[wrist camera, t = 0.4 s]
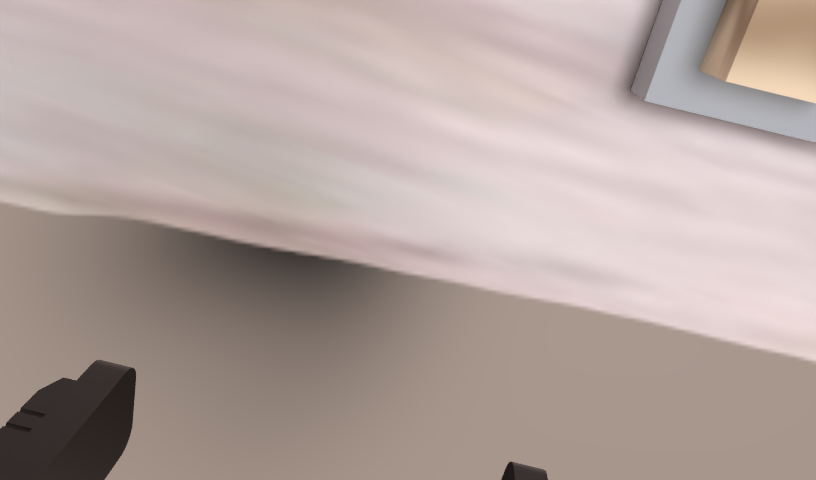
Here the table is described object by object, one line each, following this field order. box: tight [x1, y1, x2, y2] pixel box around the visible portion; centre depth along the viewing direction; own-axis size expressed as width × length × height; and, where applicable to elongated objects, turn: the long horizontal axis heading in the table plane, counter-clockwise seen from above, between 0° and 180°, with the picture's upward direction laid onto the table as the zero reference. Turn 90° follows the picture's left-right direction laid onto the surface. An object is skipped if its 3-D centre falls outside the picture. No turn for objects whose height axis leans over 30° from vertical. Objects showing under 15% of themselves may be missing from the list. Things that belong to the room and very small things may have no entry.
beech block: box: [699, 0, 816, 103], centre depth 29 cm, size 6×6×4 cm
